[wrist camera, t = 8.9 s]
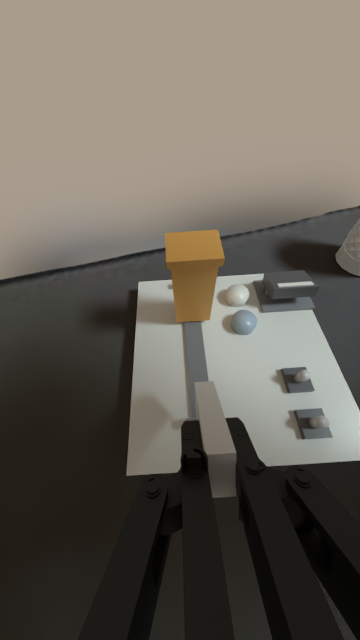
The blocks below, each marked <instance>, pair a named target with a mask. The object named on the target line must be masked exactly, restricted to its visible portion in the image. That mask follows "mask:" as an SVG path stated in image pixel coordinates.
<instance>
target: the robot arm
mask: <svg viewBox="0 0 360 640" xmlns="http://www.w3.org/2000/svg"><path fill="white" fill-rule="evenodd" d="M194 384H195V404H196V417H197V420H194V421H184V422H183V424H182V426H181V453H182V454H181V458H180V460H181V467H180V470H179V471H178V472H177V473H176V474H175V475H174V476H172V477H170V478H167V479H165V480H164V479H163V478H162V477H160V476H150V477H148V478H146V479H145V480H144V481H143V482H142V484H141V485H140V487H139V490H138V492H137V495H136V497H135V500H134V502H133V504H132V507H131V509H130V512H129V514H128V517H127V519H126V522H125V524H124V527H123V529H122V532H121V534H120V537H119V539H118V542H117V544H116V547H115V549H114V551H113V554H112V556H111V559H110V561H109V564H108V566H107V569H106V571H105V574H104V576H103V579H102V581H101V584H100V586H99V589H98V591H97V593H96V596H95V598H94V601H93V603H92V606H91V608H90V611H89V613H88V616H87V618H86V621H85V623H84V626H83V628H82V631H81V633H80V635H79V638H78V640H149V636H150V631H151V626H152V622H153V617H154V612H155V608H156V603H157V598H158V594H159V589H160V585H161V580H162V575H163V571H164V566H165V561H166V557H167V552H168V547H169V543H170V538H171V534H172V533H174V532H176V531H178V530H180V529H182V528H183V568H184V613H185V640H235V638H234V632H233V625H232V619H231V613H230V606H229V600H228V593H227V587H226V581H225V574H224V568H223V561H222V555H221V549H220V542H219V536H218V529H217V523H216V517H215V510H214V504H213V498H219V497H236V490H237V494H238V498H239V521H242V522H243V525H244V529H245V533H246V537H247V541H248V545H249V549H250V553H251V557H252V561H253V565H254V568H255V572H256V576H257V580H258V584H259V588H260V592H261V596H262V600H263V604H264V608H265V611H266V615H267V619H268V623H269V627H270V631H271V635H272V639H273V640H344V638H343V636H342V634H341V631H340V629H339V627H338V625H337V623H336V620H335V618H334V616H333V614H332V611H331V609H330V607H329V605H328V602H327V600H326V598H325V596H324V594H323V591H322V589H321V587H320V585H319V582H318V580H317V578H316V576H315V574H316V575H317V577H318V578H319V580H320V582H321V583H322V585H323V586H324V588H325V590H326V591H327V593H328V594H329V596H330V597H331V599H332V601H333V602H334V604H335V605H336V607H337V609H338V610H339V612H340V613H341V615H342V617H343V618H344V620H345V621H346V623H347V624H348V626H349V628H350V629H351V631H352V632H353V634H354V636H355V637H356V639H357V640H360V525H359V523H358V522H357V521H356V520H355V519H354V518H353V517H352V516H351V515H350V514H349V513H348V512H347V511H346V509H345V508H344V507H343V506H342V505H341V504H340V503H339V502H338V501H337V500H336V499H335V498H334V497H333V495H332V494H331V493H330V492H329V491H328V490H327V489H326V488H325V487H324V486H323V485H322V484H321V482H320V481H319V480H318V479H317V478H316V477H315V476H314V475H313V474H312V473H310V472H309V471H308V470H306V469H304V468H302V467H297V466H294V467H290V468H288V469H287V471H286V473H285V472H281V471H277V470H274V469H271V468H269V467H267V466H266V465H265V464H264V462H262V461H261V460H260V459H259V457H258V455H257V453H256V451H255V448H254V446H253V444H252V441H251V439H250V437H249V434H248V432H247V431H246V428H245V425H244V423H243V422H242V421H241V420H240V419H239V418H238V417H234V418H225V416H224V413H223V410H222V406H221V403H220V400H219V397H218V394H217V391H216V388H215V385H214V382H213V381H207V382H194ZM313 570H314V571H313ZM314 572H315V574H314Z"/></svg>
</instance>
